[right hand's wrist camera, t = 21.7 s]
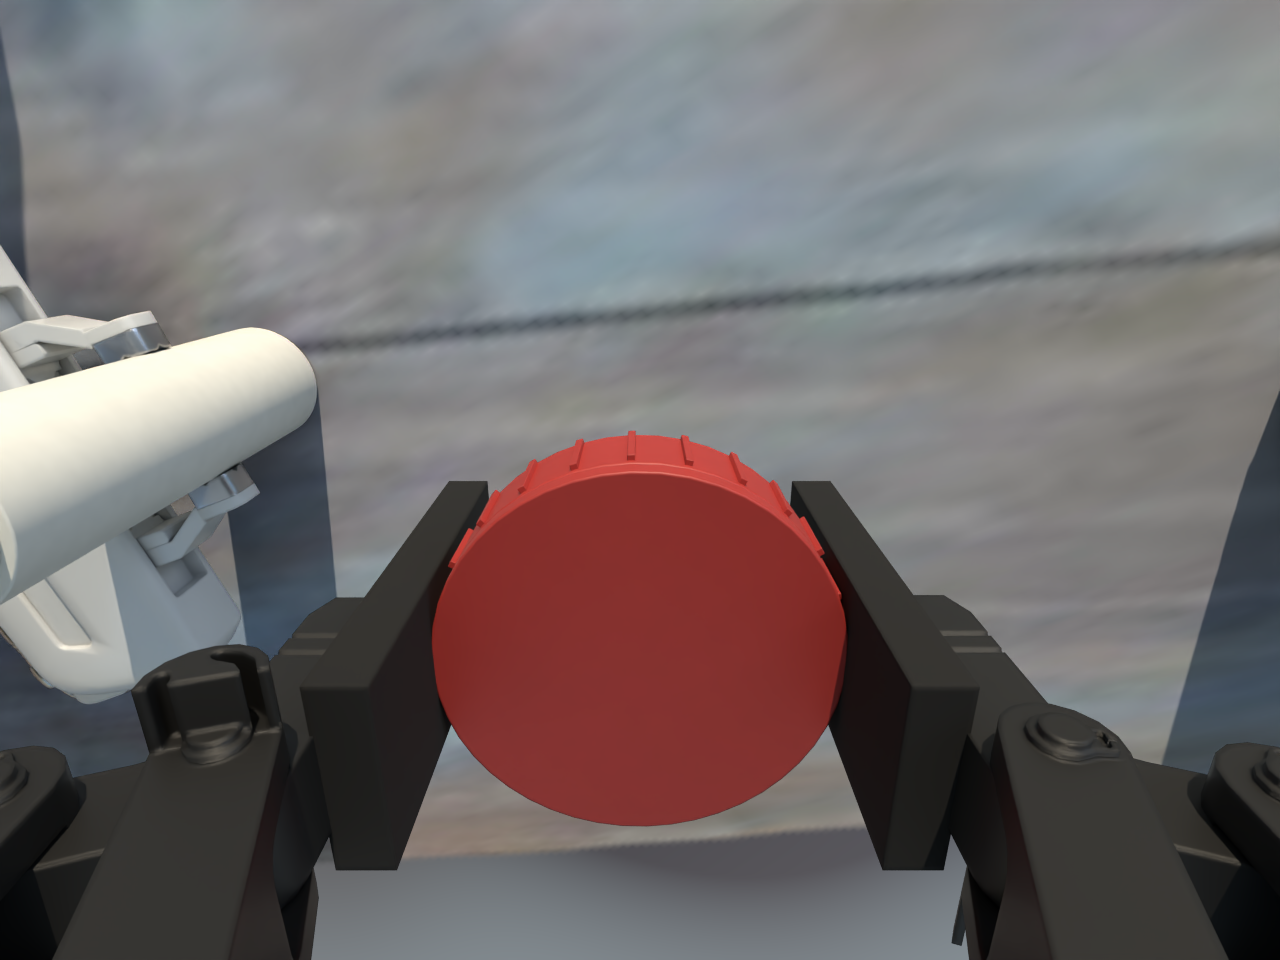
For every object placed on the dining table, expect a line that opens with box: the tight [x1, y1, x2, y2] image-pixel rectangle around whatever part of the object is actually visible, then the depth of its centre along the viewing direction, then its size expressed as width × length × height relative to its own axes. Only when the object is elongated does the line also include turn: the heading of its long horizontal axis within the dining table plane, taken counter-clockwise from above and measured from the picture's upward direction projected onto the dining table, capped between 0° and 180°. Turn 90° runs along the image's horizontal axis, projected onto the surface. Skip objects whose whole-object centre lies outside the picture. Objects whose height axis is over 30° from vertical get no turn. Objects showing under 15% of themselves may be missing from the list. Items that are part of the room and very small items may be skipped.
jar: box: [0, 328, 317, 605], centre depth 25 cm, size 5×5×19 cm
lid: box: [432, 431, 848, 826], centre depth 11 cm, size 6×6×2 cm
